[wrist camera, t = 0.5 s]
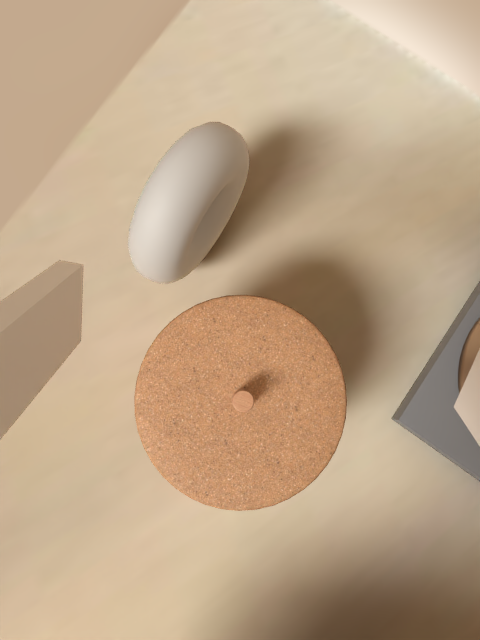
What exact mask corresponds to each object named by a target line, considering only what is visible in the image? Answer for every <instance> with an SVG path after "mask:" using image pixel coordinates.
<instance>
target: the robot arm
mask: <svg viewBox="0 0 480 640" xmlns="http://www.w3.org/2000/svg"><path fill="white" fill-rule="evenodd" d="M82 294H83V264H78V263H72V262H67V261H61V260H59V261H58V262H56V263H55V264H53V265H52V266H50V267H49V268H48V269H46V270H45V271H43V272H42V273H40V274H39V275H38V276H36V277H35V278H33V279H32V280H30V281H29V282H28V283H26V284H25V285H23V286H22V287H20V288H19V289H18V290H16V291H15V292H13V293H12V294H10V295H9V296H8V297H6V298H5V299H3V300H2V301H0V439H1V438H2V437H3V436H4V435H5V433H6V432H7V431H8V430H9V428H10V427H11V426H12V425H13V424H14V422H15V421H16V420H17V419H18V417H19V416H20V415H21V414H22V413H23V411H24V410H25V409H26V408H27V406H28V405H29V404H30V403H31V401H32V400H33V399H34V398H35V397H36V395H37V394H38V393H39V392H40V390H41V389H42V388H43V387H44V386H45V384H46V383H47V382H48V381H49V379H50V378H51V377H52V376H53V375H54V373H55V372H56V371H57V370H58V368H59V367H60V366H61V365H62V363H63V362H64V361H65V360H66V359H67V357H68V356H69V355H70V354H71V352H72V351H73V350H74V349H75V348H76V346H77V345H78V344H79V343H80V341H81V324H82ZM454 408H455V410H456V411H457V413H458V414H459V416H460V417H461V419H462V420H463V422H464V423H465V425H466V426H467V428H468V429H469V431H470V432H471V434H472V435H473V437H474V439H475V440H476V442H477V443H478V445H479V446H480V349H479V351H478V353H477V356H476V358H475V360H474V362H473V365H472V367H471V369H470V371H469V374H468V376H467V378H466V380H465V382H464V385H463V387H462V389H461V391H460V394H459V396H458V398H457V400H456V402H455V405H454Z"/></svg>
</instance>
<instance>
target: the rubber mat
mask: <svg viewBox="0 0 480 640" xmlns="http://www.w3.org/2000/svg"><path fill="white" fill-rule="evenodd" d="M479 318H480V282H479V283H478V285H477V286H476V288H475V289H474V291H473V292H472V294H471V296H470V297H469V299H468V300H467V302H466V303H465V305H464V306H463V308H462V310H461V311H460V313H459V314H458V316H457V317H456V319H455V321H454V322H453V324H452V325H451V327H450V328H449V330H448V331H447V333H446V335H445V336H444V338H443V339H442V341H441V342H440V344H439V345H438V347H437V349H436V350H435V352H434V353H433V355H432V356H431V358H430V359H429V361H428V363H427V364H426V366H425V367H424V369H423V370H422V372H421V373H420V375H419V377H418V378H417V380H416V381H415V383H414V384H413V386H412V388H411V389H410V391H409V392H408V394H407V395H406V397H405V398H404V400H403V402H402V403H401V405H400V406H399V408H398V409H397V411H396V412H395V414H394V416H393V417H392V419H393V420H394V421H395V422H397V423H398V424H400V425H401V426H402V427H404V428H405V429H407V430H408V431H410V432H411V433H412V434H414V435H415V436H417V437H418V438H419V439H421V440H422V441H424V442H425V443H426V444H428V445H429V446H431V447H432V448H434V449H435V450H436V451H438V452H439V453H441V454H442V455H443V456H445V457H446V458H448V459H449V460H450V461H452V462H453V463H455V464H456V465H458V466H459V467H460V468H462V469H463V470H465V471H466V472H467V473H469V474H470V475H472V476H473V477H474V478H476V479H477V480H479V481H480V446H479V445H478V443H477V442H476V440H475V439H474V437H473V435H472V434H471V432H470V431H469V429H468V428H467V426H466V425H465V423H464V422H463V420H462V419H461V417H460V416H459V414H458V413H457V411H456V410H455V408H454V405H455V402H456V400H457V398H458V396H459V389H458V367H459V360H460V355H461V352H462V348H463V345H464V343H465V340H466V338H467V336H468V334H469V332H470V330H471V329H472V327H473V325H474V324H475V322H476V321H477V320H478V319H479Z"/></svg>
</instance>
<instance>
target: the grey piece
mask: <svg viewBox="0 0 480 640" xmlns="http://www.w3.org/2000/svg"><path fill="white" fill-rule="evenodd" d="M248 171H249V152H248V148H247V144H246V142H245V140H244V139H243V137H242V135H241V134H239V133H238V132H237V131H236V130H235V129H233V128H231V127H230V126H228V125H225V124H223V123H220V122H209V123H206V124H203V125H200V126H198V127H195V128H192V129H190V130H189V131H188V132H187V133H185V134H184V135H183V136H182V137H181V138H179V139H178V140H177V141H176V142H175V143H174V144H173V145H172V146H171V147H170V149H169V150H168V151H167V152H166V154H165V155H164V156H163V157H162V158H161V160H160V161H159V162H158V164H157V166H156V167H155V169H154V170H153V172H152V174H151V175H150V177H149V179H148V180H147V182H146V184H145V186H144V188H143V191H142V193H141V195H140V197H139V199H138V201H137V204H136V207H135V211H134V214H133V217H132V220H131V224H130V229H129V239H128V248H129V253H130V257H131V260H132V263H133V265H134V267H135V269H136V270H137V272H138V273H139V274H141V275H142V276H143V277H144V278H147V279H149V280H151V281H154V282H157V283H162V284H168V283H173V282H176V281H178V280H180V279H182V278H183V277H185V276H186V275H188V274H189V273H190V272H191V271H192V270H194V269H195V268H196V267H197V266H198V265H199V263H200V262H201V261H202V260H203V259H204V257H205V256H206V255H207V254H208V252H209V251H210V249H211V248H212V246H213V245H214V244H215V242H216V241H217V239H218V238H219V236H220V234H221V233H222V231H223V229H224V228H225V226H226V224H227V222H228V221H229V219H230V217H231V215H232V213H233V211H234V209H235V207H236V205H237V203H238V201H239V199H240V196H241V194H242V191H243V188H244V186H245V183H246V180H247V175H248Z"/></svg>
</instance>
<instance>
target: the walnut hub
mask: <svg viewBox="0 0 480 640" xmlns="http://www.w3.org/2000/svg"><path fill="white" fill-rule="evenodd" d="M479 349H480V318H479V319H478V320H477V321H476V322H475V324H474V325H473V327H472V329H471V330H470V332H469V334H468V336H467V338H466V340H465V343H464V345H463V348H462V352H461V355H460V360H459V367H458V389H459V394H460V391H461V389H462V387H463V385H464V382H465V380H466V378H467V376H468V374H469V371H470V369H471V367H472V365H473V362H474V360H475V358H476V356H477V353H478V351H479Z"/></svg>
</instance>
